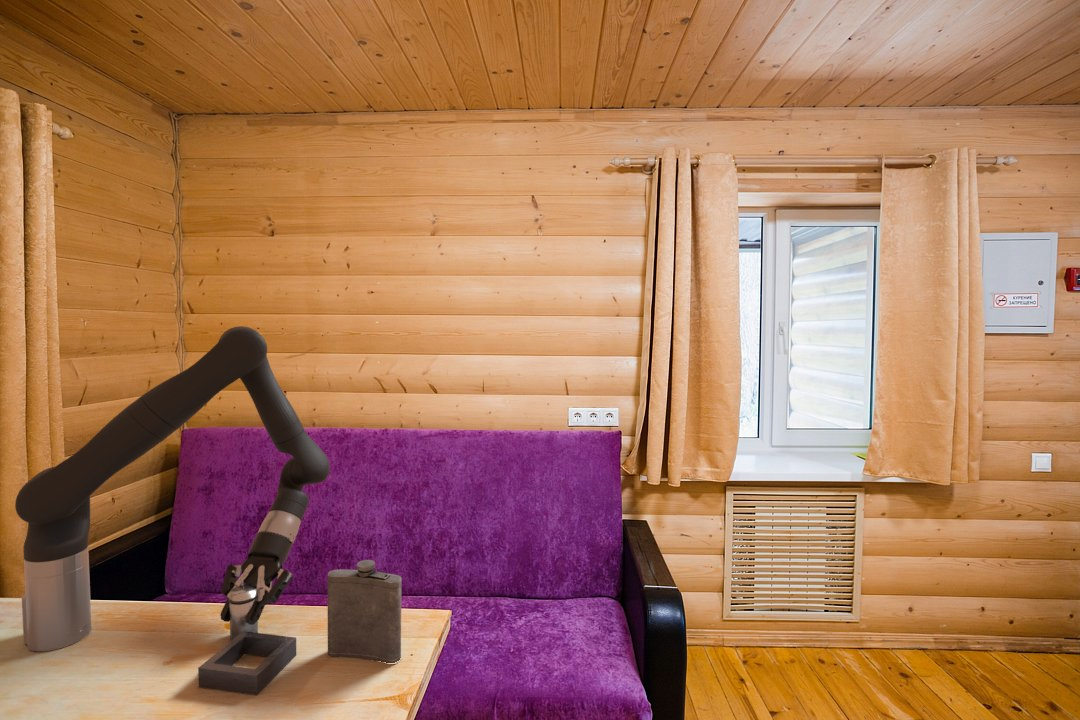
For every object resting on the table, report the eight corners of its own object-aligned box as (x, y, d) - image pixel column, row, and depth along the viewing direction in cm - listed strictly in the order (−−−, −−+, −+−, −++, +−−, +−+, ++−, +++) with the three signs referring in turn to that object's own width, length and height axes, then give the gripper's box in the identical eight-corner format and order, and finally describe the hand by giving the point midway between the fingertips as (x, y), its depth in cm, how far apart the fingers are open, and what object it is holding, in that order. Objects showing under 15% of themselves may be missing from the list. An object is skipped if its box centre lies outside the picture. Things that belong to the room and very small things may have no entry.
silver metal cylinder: (223, 642, 104) (222, 595, 103) (241, 627, 109) (240, 582, 108) (247, 645, 103) (246, 598, 102) (264, 630, 108) (263, 585, 107)
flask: (334, 645, 104) (334, 555, 103) (404, 653, 102) (405, 562, 101) (324, 656, 100) (324, 564, 99) (397, 665, 98) (397, 571, 97)
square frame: (198, 687, 91) (198, 667, 91) (243, 648, 102) (243, 631, 102) (257, 695, 90) (257, 675, 90) (296, 655, 101) (296, 637, 100)
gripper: (236, 527, 113) (193, 612, 102) (299, 532, 111) (261, 620, 100) (253, 541, 119) (214, 623, 108) (313, 547, 117) (279, 631, 106)
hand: (237, 621), depth 104 cm, fingers closed on silver metal cylinder, 4 cm apart
